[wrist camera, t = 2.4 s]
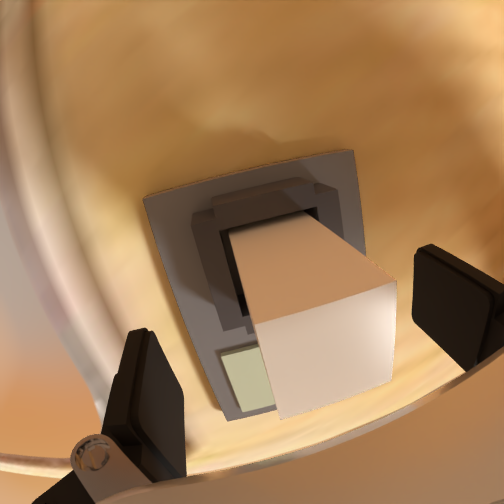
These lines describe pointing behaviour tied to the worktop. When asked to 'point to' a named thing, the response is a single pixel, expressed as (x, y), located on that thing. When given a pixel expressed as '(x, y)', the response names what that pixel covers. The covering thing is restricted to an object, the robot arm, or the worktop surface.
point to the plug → (315, 311)
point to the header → (224, 265)
